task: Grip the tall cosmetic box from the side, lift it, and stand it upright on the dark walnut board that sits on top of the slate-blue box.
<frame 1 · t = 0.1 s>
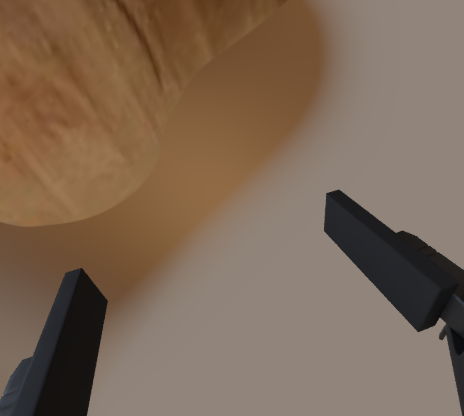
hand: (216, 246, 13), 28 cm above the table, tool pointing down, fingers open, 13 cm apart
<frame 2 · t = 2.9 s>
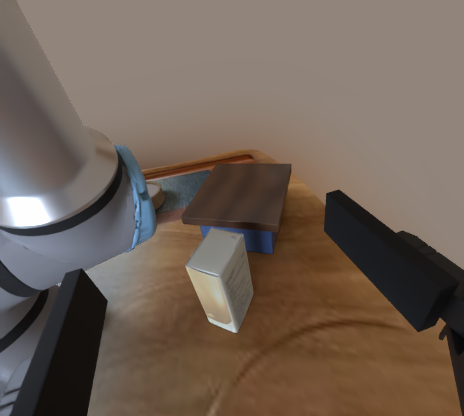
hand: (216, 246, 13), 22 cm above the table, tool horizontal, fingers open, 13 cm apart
cosmetic box: (232, 309, 34), on the table
alarm clock: (139, 210, 56), on the table
board: (242, 194, 43), resting on blue box
blue box: (246, 224, 47), on the table
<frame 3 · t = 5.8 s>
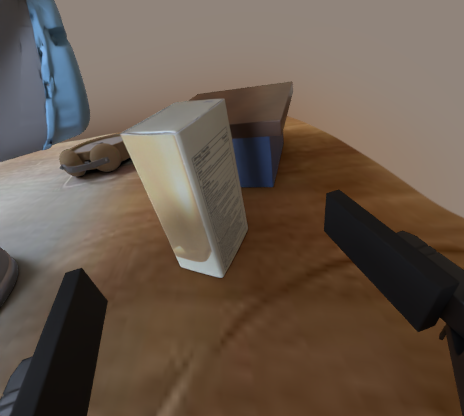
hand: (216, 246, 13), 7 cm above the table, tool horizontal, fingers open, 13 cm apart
cosmetic box: (216, 250, 23), on the table
alarm clock: (105, 164, 45), on the table
board: (229, 115, 32), resting on blue box
blue box: (237, 163, 36), on the table
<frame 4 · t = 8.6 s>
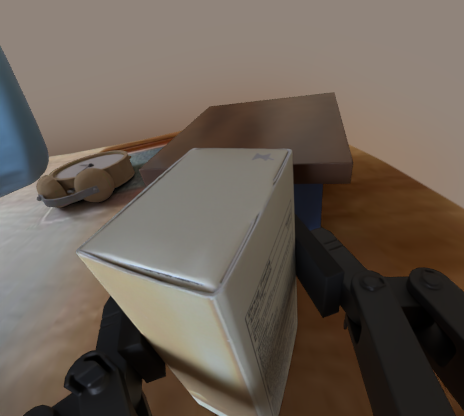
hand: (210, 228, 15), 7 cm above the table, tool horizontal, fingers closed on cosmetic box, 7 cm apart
cosmetic box: (251, 364, 14), on the table, touching gripper
alarm clock: (95, 190, 37), on the table
board: (255, 139, 24), resting on blue box
blue box: (262, 198, 28), on the table
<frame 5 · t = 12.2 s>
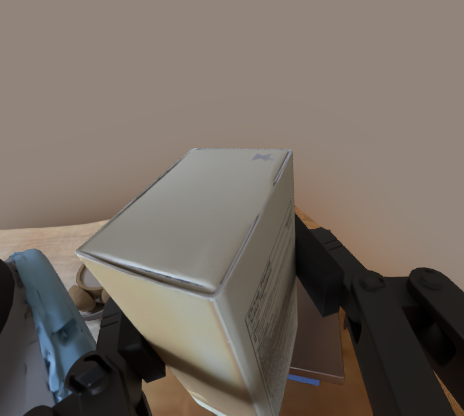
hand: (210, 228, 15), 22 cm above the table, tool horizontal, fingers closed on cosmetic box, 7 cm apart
cosmetic box: (251, 365, 14), point 15 cm above the table, touching gripper
alarm clock: (117, 286, 42), on the table
board: (264, 286, 28), resting on blue box
when the fingers open (15 cm above the table, at t = 15.9 s): cosmetic box stays where it is, resting on board.
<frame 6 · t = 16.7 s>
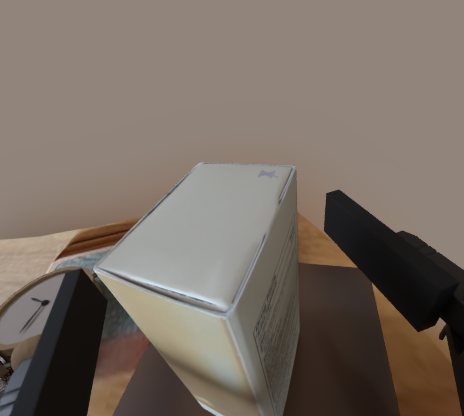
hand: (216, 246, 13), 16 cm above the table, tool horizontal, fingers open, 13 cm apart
cosmetic box: (254, 369, 15), point 8 cm above the table, touching board
alarm clock: (51, 333, 29), on the table
board: (255, 377, 16), resting on blue box
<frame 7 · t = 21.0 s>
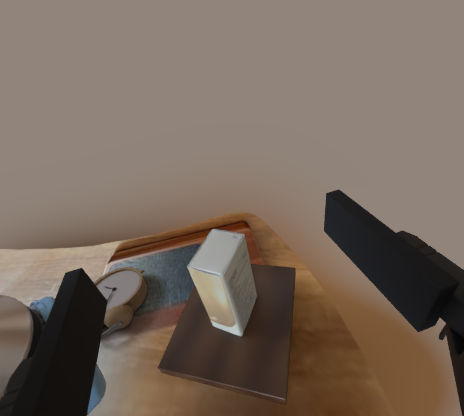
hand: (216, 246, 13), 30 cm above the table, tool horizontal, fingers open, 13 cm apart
cosmetic box: (235, 312, 33), point 8 cm above the table, touching board
alarm clock: (117, 308, 48), on the table
board: (236, 317, 34), resting on blue box
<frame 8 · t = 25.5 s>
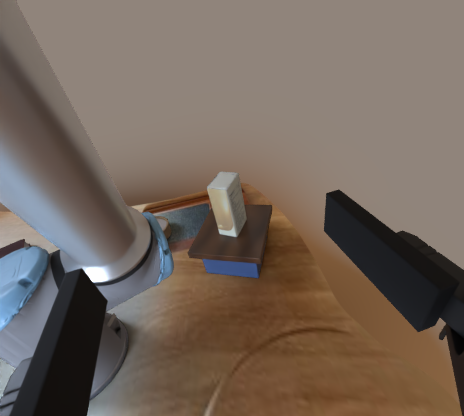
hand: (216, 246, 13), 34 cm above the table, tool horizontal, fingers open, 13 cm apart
cosmetic box: (233, 227, 54), point 8 cm above the table, touching board
alarm clock: (151, 241, 69), on the table
board: (234, 232, 55), resting on blue box
book: (5, 274, 68), on the table
blue box: (238, 253, 59), on the table
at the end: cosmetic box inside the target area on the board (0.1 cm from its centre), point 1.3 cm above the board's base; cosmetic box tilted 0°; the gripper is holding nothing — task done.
